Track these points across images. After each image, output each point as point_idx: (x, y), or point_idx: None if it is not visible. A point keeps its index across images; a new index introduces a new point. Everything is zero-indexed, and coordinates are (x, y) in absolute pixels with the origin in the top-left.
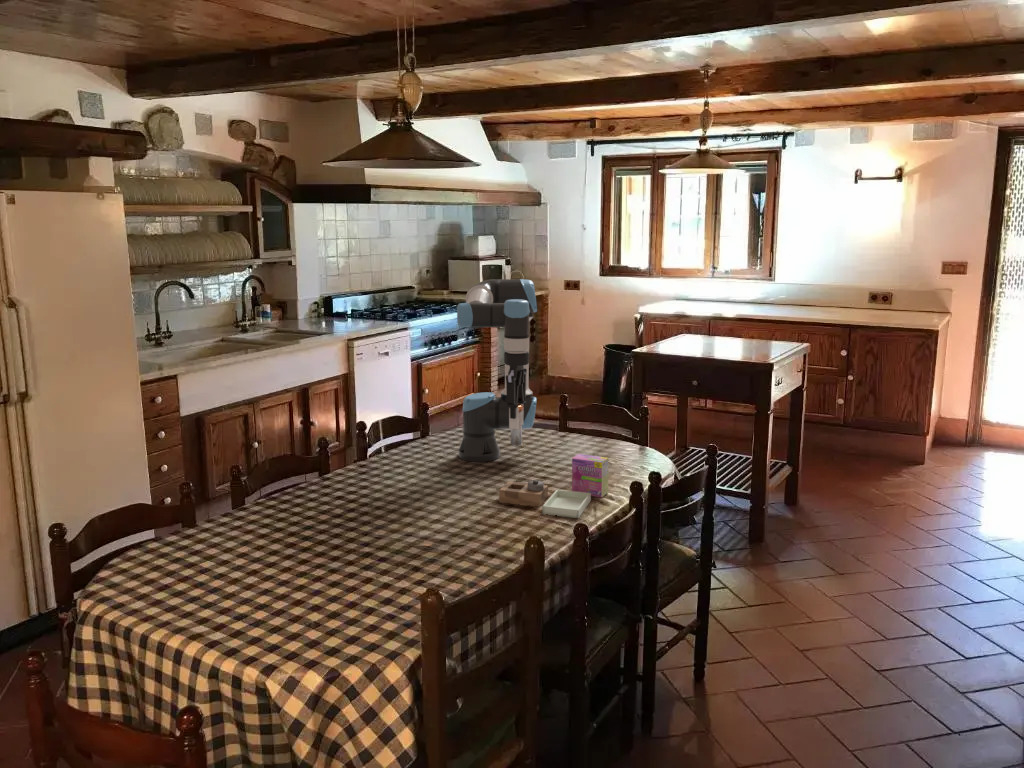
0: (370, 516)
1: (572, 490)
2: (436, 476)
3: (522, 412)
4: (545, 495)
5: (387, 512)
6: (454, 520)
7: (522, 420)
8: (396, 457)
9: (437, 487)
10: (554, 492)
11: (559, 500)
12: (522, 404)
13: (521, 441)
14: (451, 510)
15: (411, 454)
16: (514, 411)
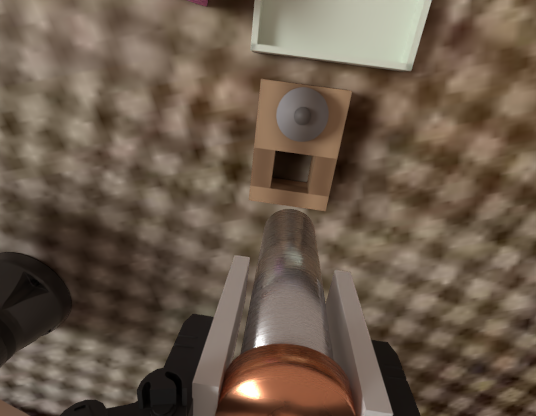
0: (423, 388)
1: (205, 2)
2: None
3: (234, 321)
4: (288, 82)
5: None
6: (447, 265)
7: (245, 276)
8: (110, 407)
9: None
10: (281, 53)
11: (298, 34)
12: (208, 388)
13: (293, 216)
14: (385, 281)
15: (82, 392)
16: (414, 405)
